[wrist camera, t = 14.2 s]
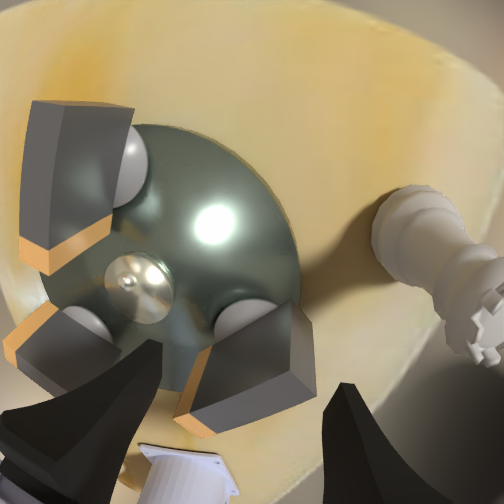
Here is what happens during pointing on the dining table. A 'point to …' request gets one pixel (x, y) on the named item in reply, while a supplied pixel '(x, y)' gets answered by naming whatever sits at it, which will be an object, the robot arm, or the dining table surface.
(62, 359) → the knob
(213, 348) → the grey block
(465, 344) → the rook chess piece
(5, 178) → the dining table surface
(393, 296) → the dining table surface
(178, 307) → the base plate
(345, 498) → the robot arm
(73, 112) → the knob
